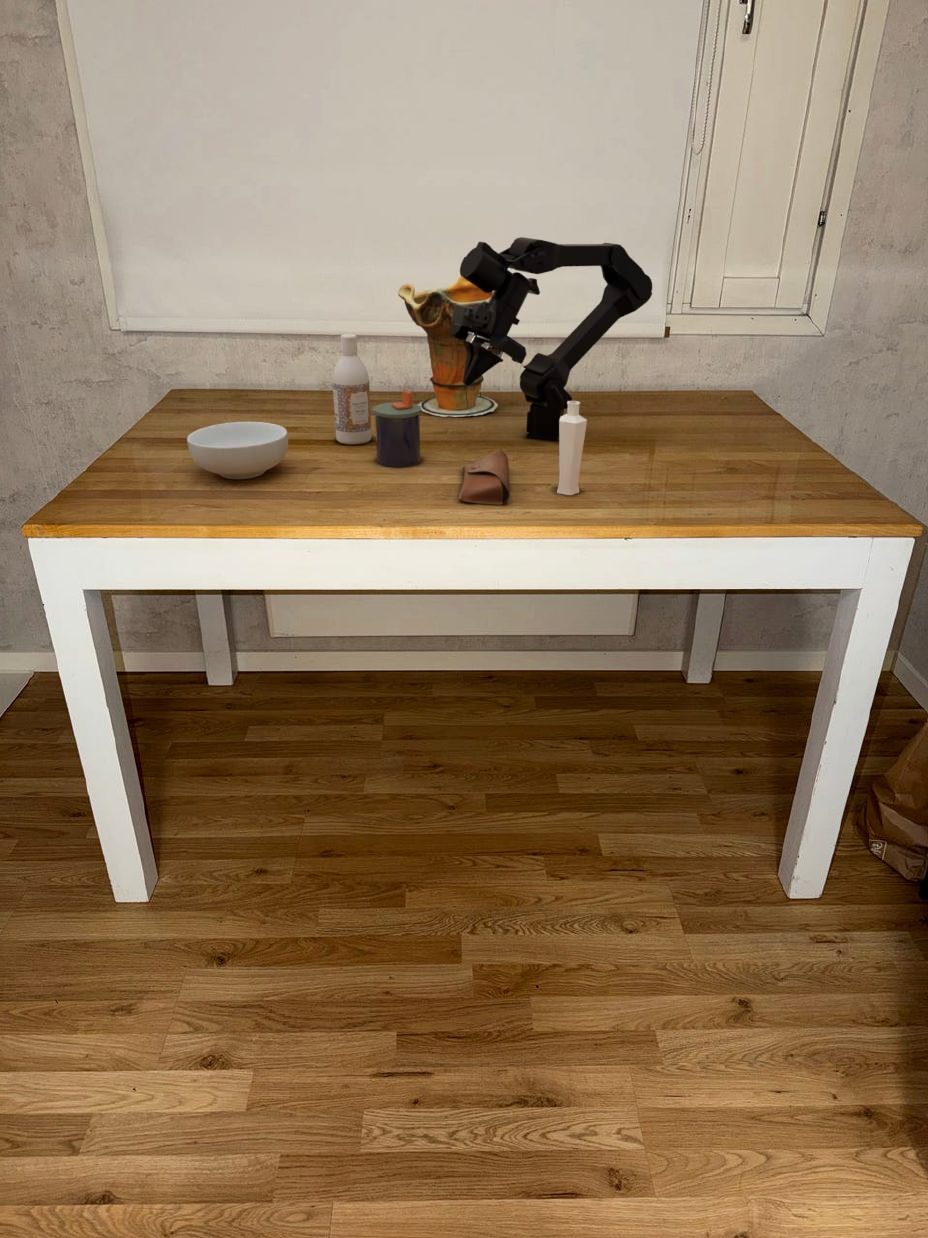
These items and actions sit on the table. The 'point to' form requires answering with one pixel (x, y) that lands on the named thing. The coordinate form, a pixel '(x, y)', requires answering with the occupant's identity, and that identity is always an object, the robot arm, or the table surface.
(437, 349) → the decorative vase
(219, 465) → the cereal bowl
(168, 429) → the table surface
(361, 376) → the bath foam
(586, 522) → the table surface
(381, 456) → the travel cup
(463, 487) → the sunglasses case
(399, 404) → the slider
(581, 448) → the white tall faceted bottle
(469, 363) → the robot arm
